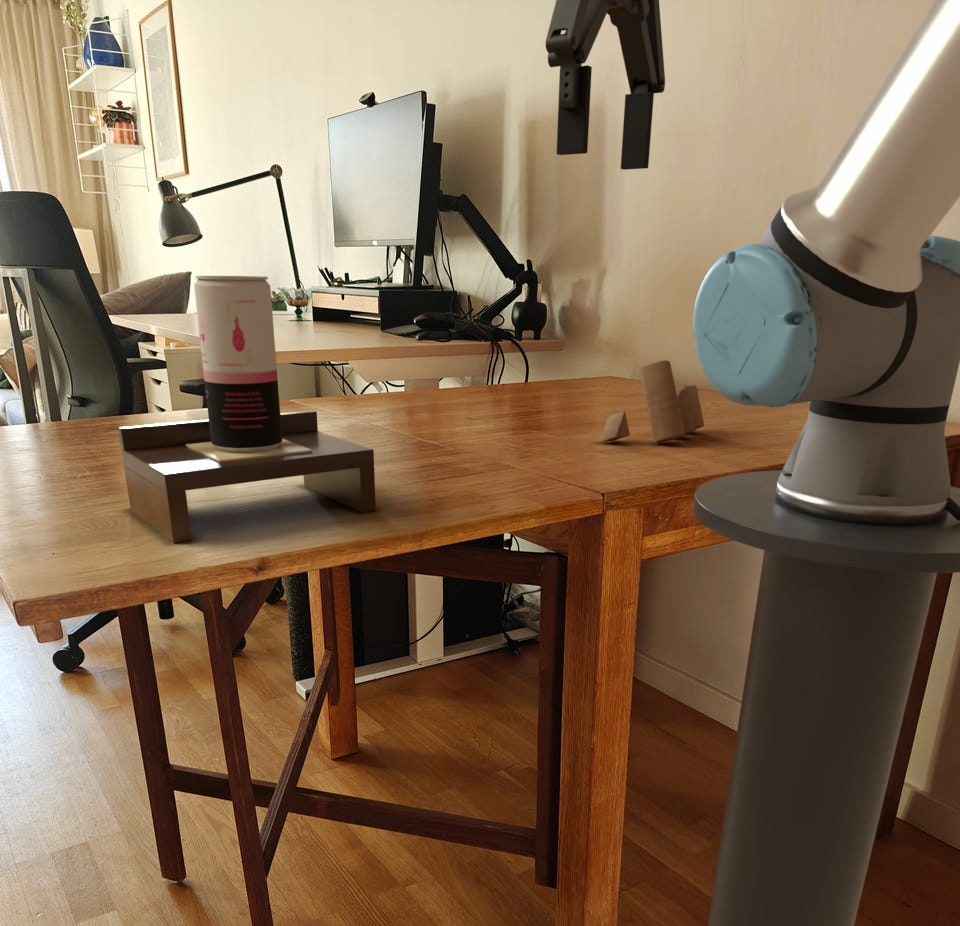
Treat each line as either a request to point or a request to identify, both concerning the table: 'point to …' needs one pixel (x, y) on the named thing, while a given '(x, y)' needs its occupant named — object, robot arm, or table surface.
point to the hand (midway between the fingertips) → (605, 162)
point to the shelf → (236, 467)
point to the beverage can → (239, 362)
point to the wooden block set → (661, 407)
